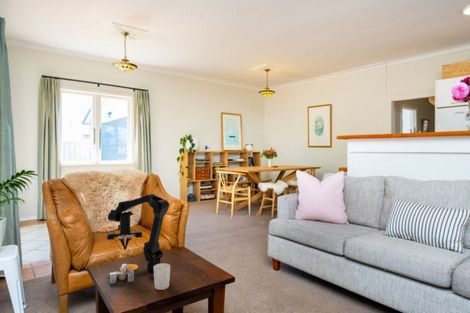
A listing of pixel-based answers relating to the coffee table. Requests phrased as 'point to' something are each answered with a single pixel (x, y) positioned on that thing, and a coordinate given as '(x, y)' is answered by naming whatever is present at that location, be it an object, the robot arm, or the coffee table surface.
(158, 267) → the white cup
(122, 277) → the white elongated bar
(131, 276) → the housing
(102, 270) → the coffee table surface
